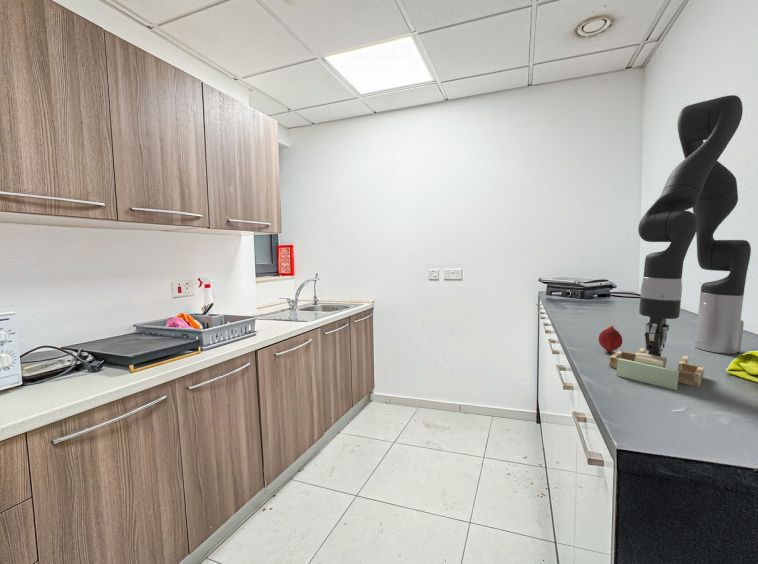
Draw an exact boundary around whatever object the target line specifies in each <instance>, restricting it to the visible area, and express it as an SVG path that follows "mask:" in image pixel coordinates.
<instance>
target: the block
mask: <svg viewBox="0 0 758 564" xmlns="http://www.w3.org/2000/svg"><path fill="white" fill-rule="evenodd" d="M667 360H668V357H665V356H661V357H660V356H654V355H649V354H647V353H645V354H644V353H640V354H638V355H637V356H636V358H635V362H639V363H644V364H649V365H654V366H658V367H663V368H667Z"/></svg>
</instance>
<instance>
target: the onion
mask: <svg viewBox="0 0 758 564" xmlns="http://www.w3.org/2000/svg"><path fill="white" fill-rule="evenodd" d="M598 343H599V346H601V347H602V348H603V349H604V350H605V351H606V352H608V353H612V352H614V351H616V350H618V349H619V348H620V347H621V346H622V344H623V336H622V335H621V333H620V332H619V331H618V330H617V329H616V328H615V327H614V325H612V324H610V325H609V326H608V327H607V328H606V329H603V330H602V331H601V332H600V334H599V335H598Z"/></svg>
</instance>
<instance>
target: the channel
mask: <svg viewBox="0 0 758 564" xmlns="http://www.w3.org/2000/svg"><path fill="white" fill-rule="evenodd" d="M646 351H647V350H646V347H645V348H644V347H641V348H639V349H638V350H637V351H635V352H629V351H625V350H618V351H616V352H614V353H613V354H611V355H610V356H609V358H608V368H613V369H617V360H618V358H620V359H625V360H629V361H634V362H635V358H636V356H637V355H638V354H640V353H644V354H646ZM689 360H690V359H689V356H688V355H683V356H682V357H681V358H680V360H679V362H678V363H677V364H678V366H677V370H678V371H679V378H678V384H684V385H689V386H693V387H697V388H699V387H700V386H701V382H702V381H703V378H704V371H705V367H704V366H701V365H696V364H691V363H689Z"/></svg>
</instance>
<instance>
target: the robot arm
mask: <svg viewBox="0 0 758 564" xmlns="http://www.w3.org/2000/svg"><path fill="white" fill-rule="evenodd" d="M743 108H744V107H743V102H742V100H741V98H740V97H739V96H738V95H735V94H732V95H724V96H721V97H716V98H713V99H709V100H704V101H700V102H696V103H691V104H689V105H686V106H684V107H683V108H682V109H681V110H680V112H679V113H678V117H677V132H678V138H679V142H680V145H681V150H682V152H683V157H684V160H682V161H681V162H680V163H679V164H678V165H677V166H676V167H675V168H674V169H673V170H672V172H670V174H669V176H668V178H667V181H665V184H664V187H663V190H662V191H661V194H660V196H659V197H658V198H657V199H656V200H654V203H653V204H652V205H651V206H650V207H649V208H648V209H647V211H645V212H644V215H642V217H641V218H640V221H639V223H638V227H637V228H638V229H637V230H638V234H639V237H640V238H641V239H642V240H643V241H645V242H647V243H648V242H649V243H670V244H669V245H668V246H667V247H666V249H664V250H662V251H655V252H651V253H648V254H646V256H645V260H644V267H643V268H644V269H643V278H642V281H641V282H642V283H641V288H640V295H639V297H640V299H639V309H638V312H639V314H640V315H641V316H644V317H648V318H649V321H648V322H647V323H645V331H646V332H645V333H644V337H645V338H644V339H645V349H646V351H647V352H648V354H649V355H654V356H660V357H662V353H663V351H664V348H665V346H666V345H665V344H666V343H667V339H668V338H667V337H668V332H669V330H670V324H667V320H675V319H678V318H679V317H680V314H681V313H680V312H681V301H682V293H683V283H682V281H683V280H682V277H683V268H684V261H685V258H686V257H687V256H686V255H687V253H688V250H689V248H690V246H691V244H692V242H693V239H694V237H695V236H696V257H697V263H698V265H699V268H701V269H702V270H705V271H715V272H717V271H718V272H719V271H720V272H728V273H729V274H728V275H727V276H726V277H723V278H721V279H716V280H712V281H708V282H703V283H702V284H701V286H700V295H699V302H698V303H699V305H698V311H697V320H696V321H697V322H696V330H695V340H694V347H695V348H696V349H699V350H703V351H706V352H707V351H708V352H710V353H711V352H713V353H719V354H729V355H731V354H732V355H734V354H735V355H736V354H737V352H740V353H741V350H742V349H741V348H742V339H743V334H744V333H743V332H744V323H745V322H744V321H743V320H741V319H742V311H743V303H744V295H745V287H746V281H747V280H746V279H747V274H748V269H749V263H750V260H751V254H752V253H751V252H752V249H751V248H752V247H751V243H750V242H749V241H748V240H745V239H715V238H714V234H715V231H716V230H717V228H719V226H720V225H721V224H722V223H723V222H724V221H725V219H726V218H727V217H728V216H729V215H730V214H731V213H732V212H733V211H734V209H735V208H736V206H737V204H738V202H739V193H738V192H739V191H738V184H737V178H736V177H735V175H734V174H733V172H732V171H731V170H729V169H728V168H727V167H726V166H724V164H722V163H721V162H719V161H718V160H719V158H720V157H721V156H722V154H723V153H724V151H725V150H726V148H727V147H728V145H729V143H730V141H731V140H732V138H733V137H734V135H735V133H736V132H737V130H738V128H739V127H740V123H741V121H742V117H743ZM690 209H692V211H693V212H692V211H690Z"/></svg>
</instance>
